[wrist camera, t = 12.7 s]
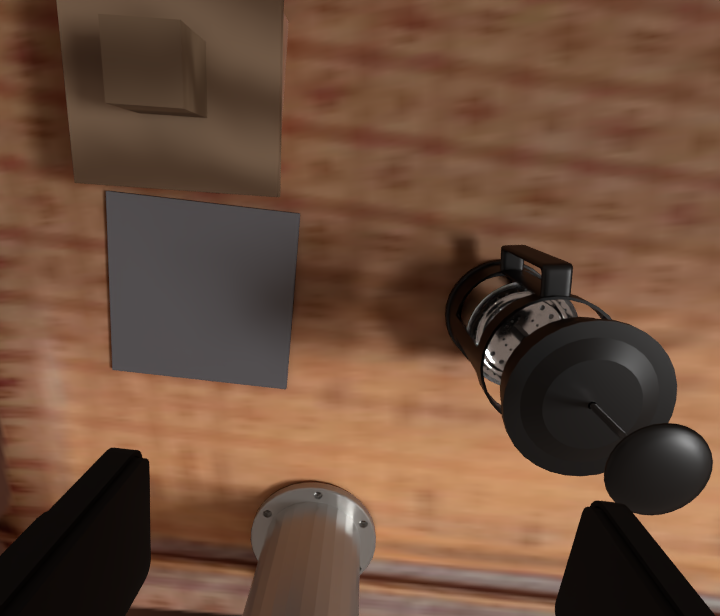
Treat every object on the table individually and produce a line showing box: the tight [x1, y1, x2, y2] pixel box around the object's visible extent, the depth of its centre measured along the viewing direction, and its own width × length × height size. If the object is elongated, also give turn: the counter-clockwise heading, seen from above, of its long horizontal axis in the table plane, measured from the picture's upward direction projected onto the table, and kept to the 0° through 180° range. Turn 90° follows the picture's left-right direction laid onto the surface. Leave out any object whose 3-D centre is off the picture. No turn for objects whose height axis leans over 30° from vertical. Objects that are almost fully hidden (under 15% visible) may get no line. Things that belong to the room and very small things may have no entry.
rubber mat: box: [106, 191, 300, 389], centre depth 39 cm, size 16×16×1 cm
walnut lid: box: [56, 0, 284, 197], centre depth 27 cm, size 14×14×5 cm
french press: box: [445, 245, 713, 515], centre depth 28 cm, size 12×9×23 cm
